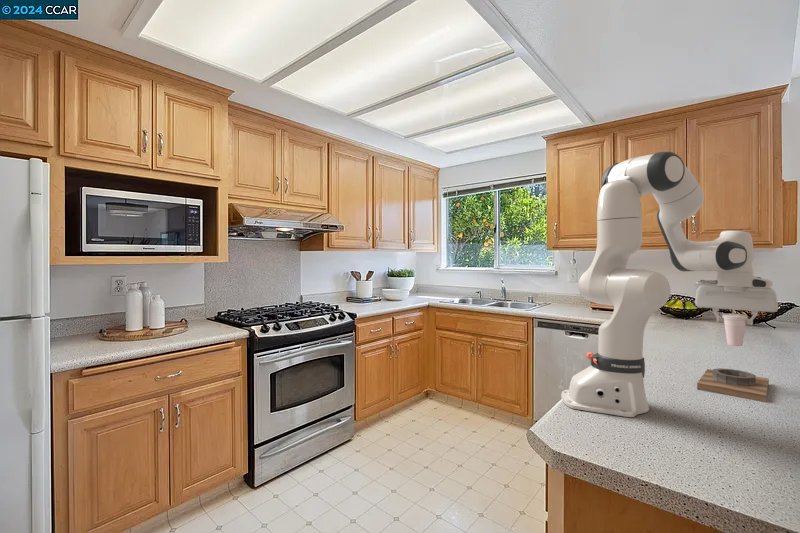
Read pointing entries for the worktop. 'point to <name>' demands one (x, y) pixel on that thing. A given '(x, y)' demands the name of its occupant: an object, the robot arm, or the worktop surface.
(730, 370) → the stand
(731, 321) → the smoothie
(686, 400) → the worktop surface
